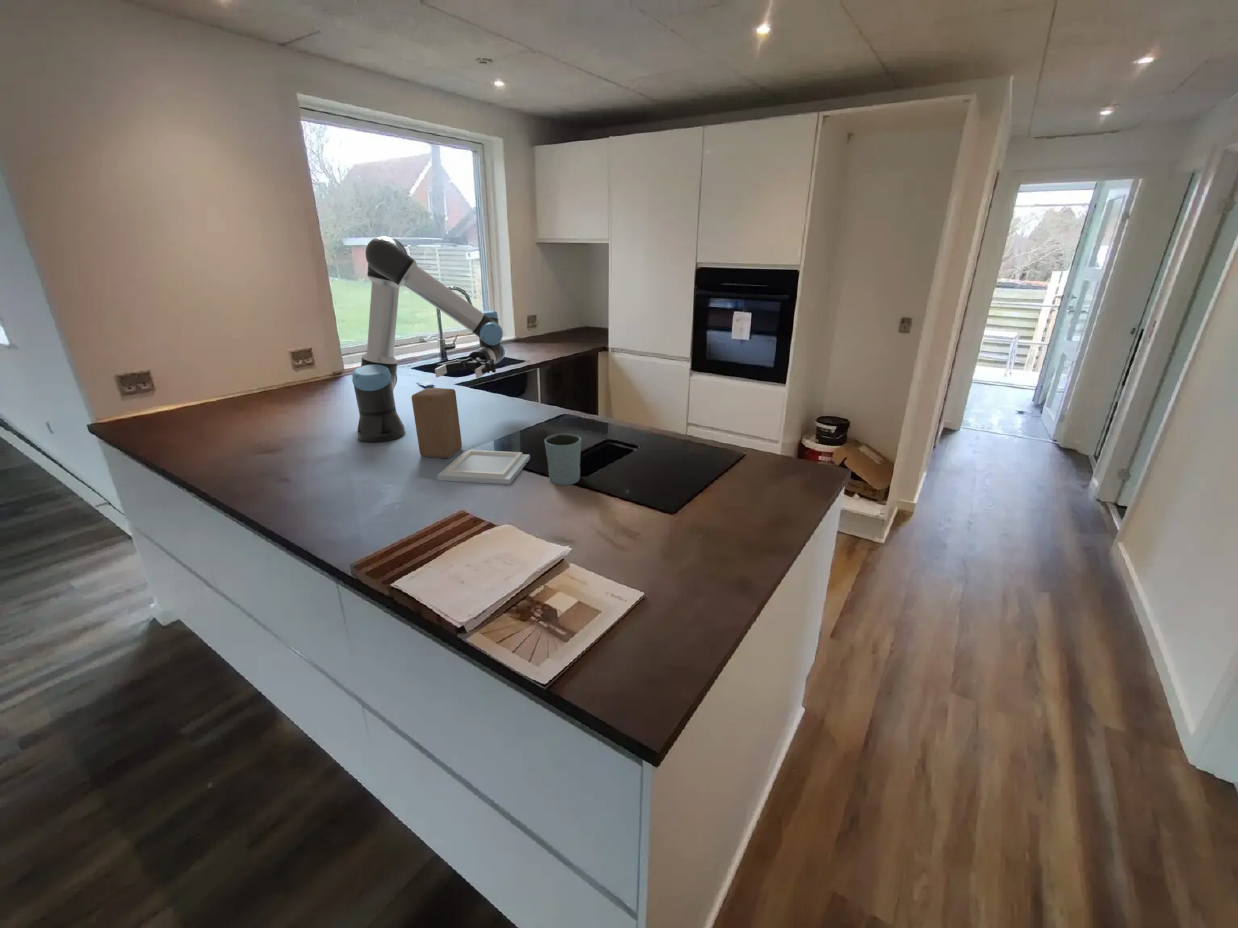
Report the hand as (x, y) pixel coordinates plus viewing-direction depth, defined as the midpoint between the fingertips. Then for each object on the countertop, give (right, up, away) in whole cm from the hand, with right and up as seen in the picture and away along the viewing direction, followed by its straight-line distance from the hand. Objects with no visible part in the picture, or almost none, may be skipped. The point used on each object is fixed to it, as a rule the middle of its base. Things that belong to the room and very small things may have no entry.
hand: (456, 373), depth 173 cm
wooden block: (-4, -26, -1) cm, 26 cm away
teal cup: (+37, -33, -20) cm, 53 cm away
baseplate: (+13, -31, -14) cm, 36 cm away
